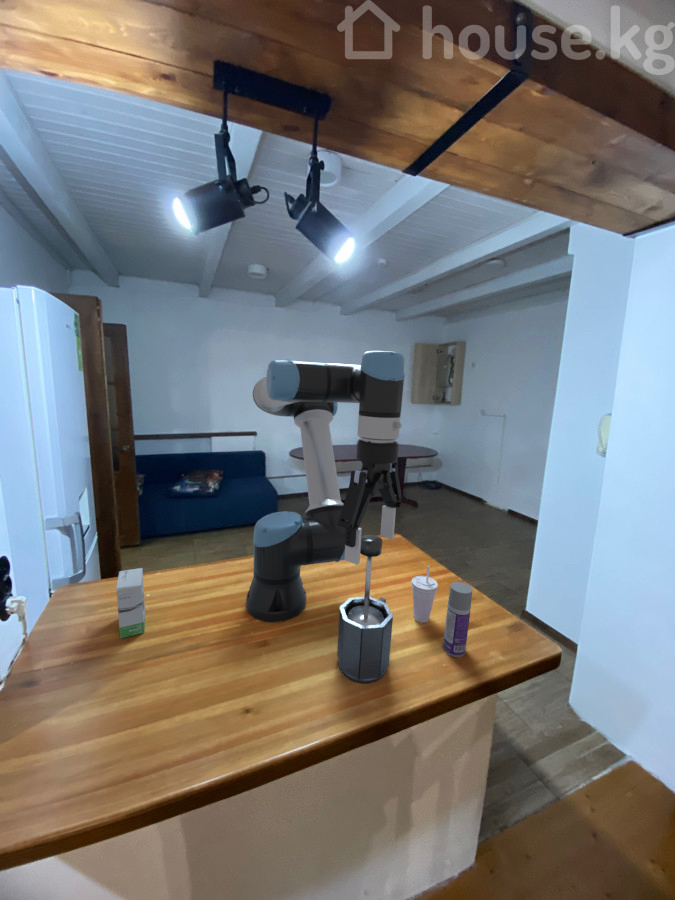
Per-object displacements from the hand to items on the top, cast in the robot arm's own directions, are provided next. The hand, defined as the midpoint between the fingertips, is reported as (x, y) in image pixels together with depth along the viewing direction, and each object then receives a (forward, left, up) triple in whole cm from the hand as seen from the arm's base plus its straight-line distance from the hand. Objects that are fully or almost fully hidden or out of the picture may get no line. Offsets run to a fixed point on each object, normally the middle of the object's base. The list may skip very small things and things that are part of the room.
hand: (370, 548), depth 70 cm
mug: (0, +1, -26) cm, 26 cm away
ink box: (-48, -22, -26) cm, 59 cm away
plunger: (0, 0, -15) cm, 16 cm away
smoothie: (+4, +22, -26) cm, 34 cm away
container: (+14, +16, -26) cm, 33 cm away
